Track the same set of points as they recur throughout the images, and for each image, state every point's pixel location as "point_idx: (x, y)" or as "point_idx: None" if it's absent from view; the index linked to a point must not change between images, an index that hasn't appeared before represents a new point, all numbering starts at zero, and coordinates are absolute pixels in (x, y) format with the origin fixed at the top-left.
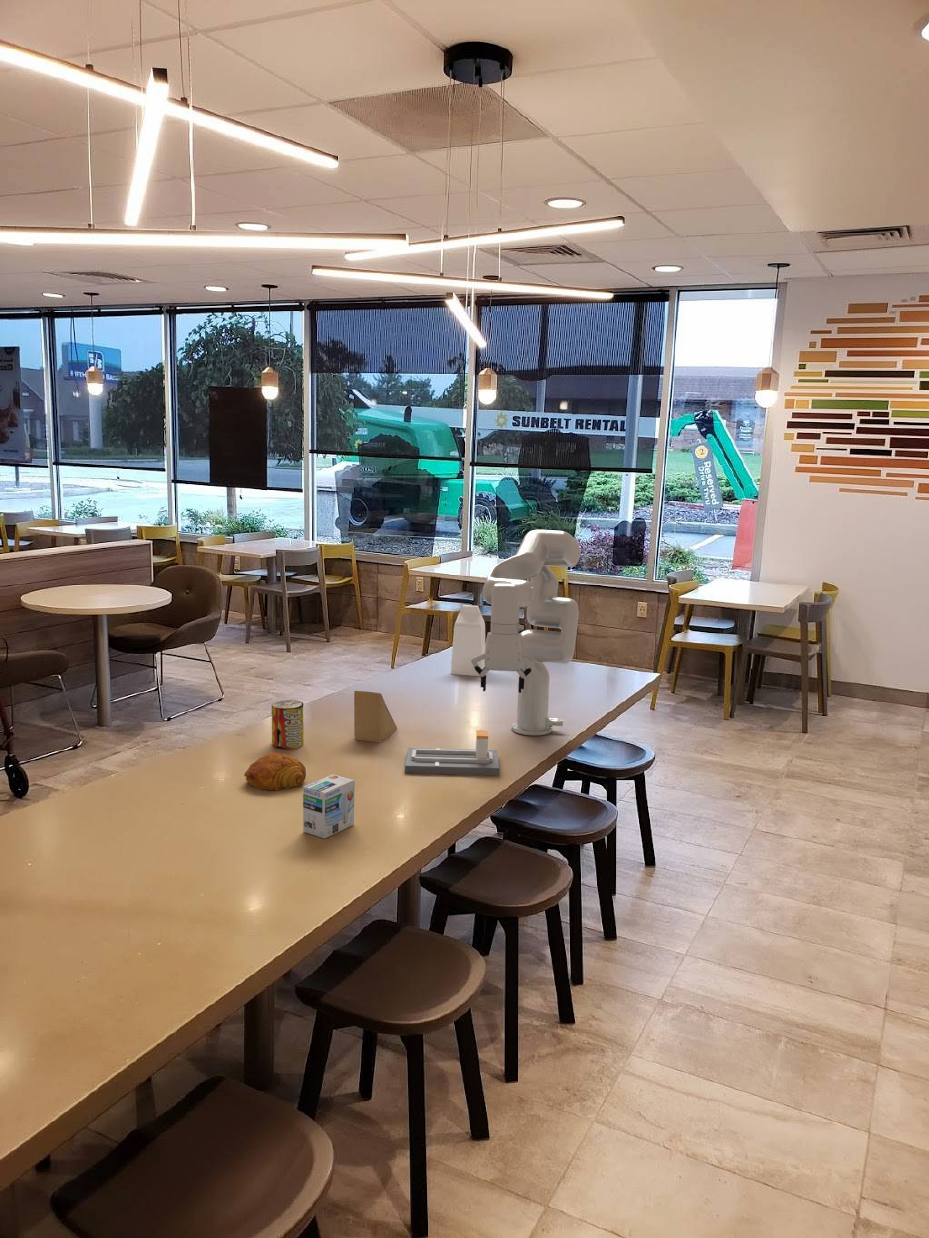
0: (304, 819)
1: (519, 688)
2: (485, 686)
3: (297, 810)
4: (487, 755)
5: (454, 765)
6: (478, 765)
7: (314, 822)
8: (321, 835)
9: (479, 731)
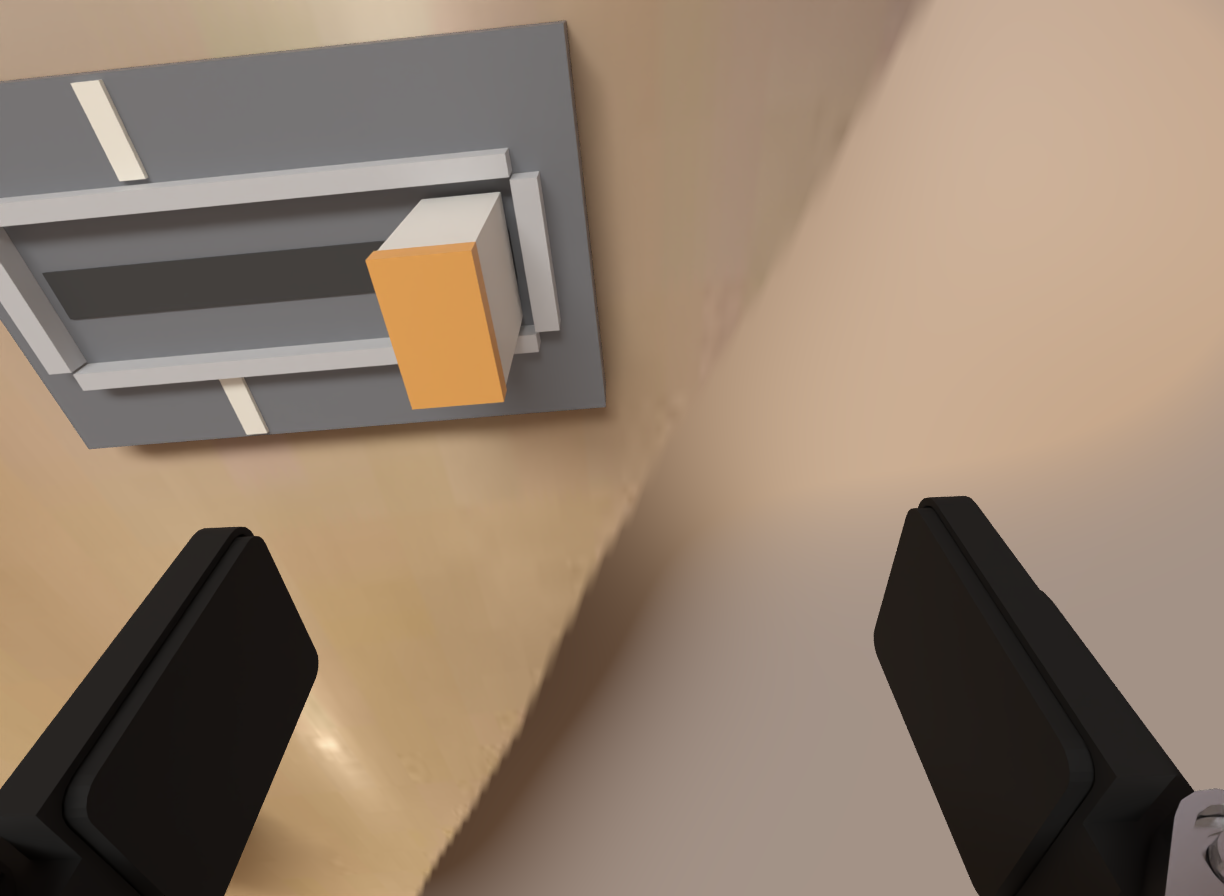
0: None
1: (910, 702)
2: (285, 734)
3: (7, 749)
4: (507, 184)
5: (348, 405)
6: None
7: None
8: None
9: (403, 294)
